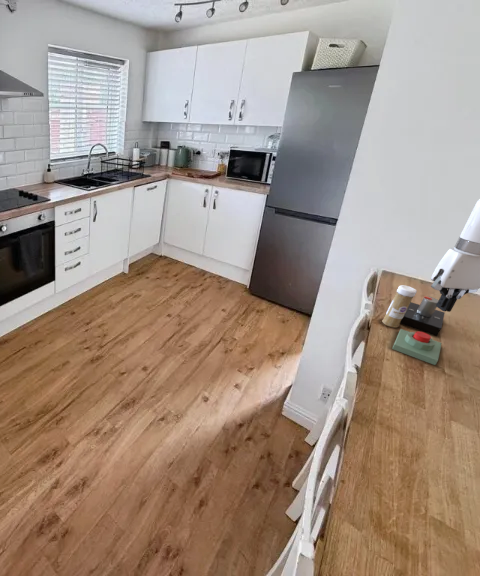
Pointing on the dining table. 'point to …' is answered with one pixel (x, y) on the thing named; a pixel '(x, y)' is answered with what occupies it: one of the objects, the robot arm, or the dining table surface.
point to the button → (422, 337)
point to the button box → (417, 347)
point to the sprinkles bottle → (399, 306)
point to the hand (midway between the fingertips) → (442, 308)
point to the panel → (423, 320)
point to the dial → (427, 306)
